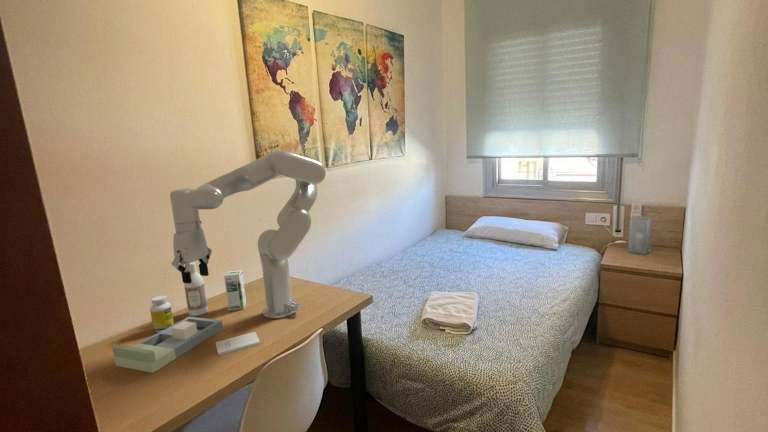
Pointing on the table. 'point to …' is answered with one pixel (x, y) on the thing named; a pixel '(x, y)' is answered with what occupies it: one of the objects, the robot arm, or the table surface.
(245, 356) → the table surface
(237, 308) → the syrup box
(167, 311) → the pill bottle
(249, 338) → the external hard drive
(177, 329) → the block
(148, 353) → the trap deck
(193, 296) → the bath foam
